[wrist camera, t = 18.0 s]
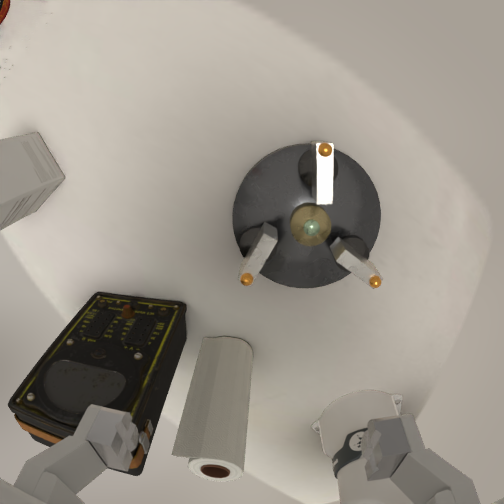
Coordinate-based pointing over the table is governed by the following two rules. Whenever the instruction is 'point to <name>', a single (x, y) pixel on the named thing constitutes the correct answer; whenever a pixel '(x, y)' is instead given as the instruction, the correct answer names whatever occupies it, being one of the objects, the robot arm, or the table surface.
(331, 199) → the grey lever knob
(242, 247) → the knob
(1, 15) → the canned food
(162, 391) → the voltmeter
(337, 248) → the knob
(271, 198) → the plate
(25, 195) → the supplement box
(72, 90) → the table surface
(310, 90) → the table surface
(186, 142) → the table surface
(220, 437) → the paper towel roll
